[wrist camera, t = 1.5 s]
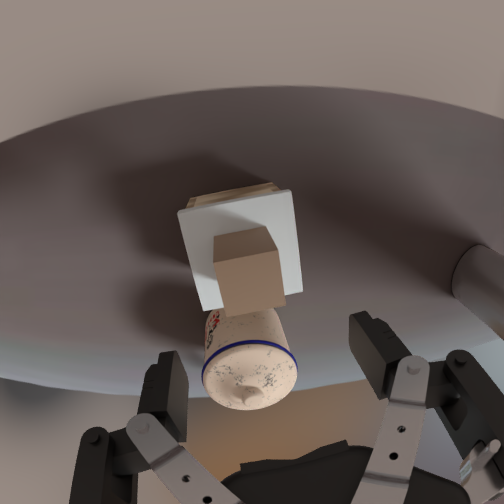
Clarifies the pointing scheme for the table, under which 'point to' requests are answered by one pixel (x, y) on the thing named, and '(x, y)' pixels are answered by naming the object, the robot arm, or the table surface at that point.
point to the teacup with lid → (247, 360)
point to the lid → (243, 252)
